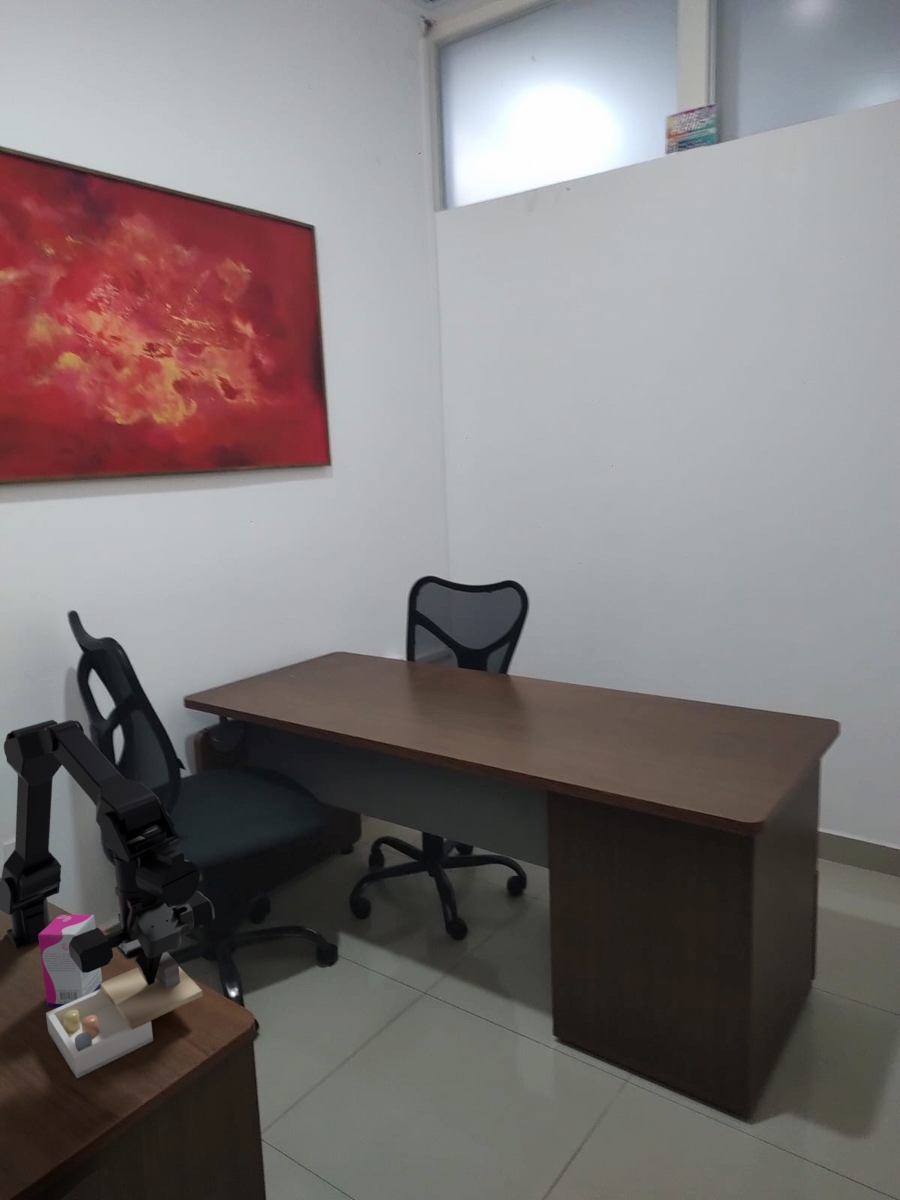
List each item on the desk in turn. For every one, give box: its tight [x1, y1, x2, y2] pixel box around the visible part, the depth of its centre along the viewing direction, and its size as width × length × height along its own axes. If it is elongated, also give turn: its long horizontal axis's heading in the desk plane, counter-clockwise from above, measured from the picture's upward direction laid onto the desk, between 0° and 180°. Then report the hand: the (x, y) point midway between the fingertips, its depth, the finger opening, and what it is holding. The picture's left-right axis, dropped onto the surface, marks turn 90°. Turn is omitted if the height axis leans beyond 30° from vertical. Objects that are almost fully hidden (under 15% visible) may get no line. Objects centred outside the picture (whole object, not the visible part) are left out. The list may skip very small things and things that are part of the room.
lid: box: [100, 951, 204, 1029], centre depth 119 cm, size 12×10×4 cm
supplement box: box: [38, 914, 103, 1008], centre depth 123 cm, size 6×6×12 cm
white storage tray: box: [45, 988, 154, 1079], centre depth 115 cm, size 12×10×3 cm
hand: (150, 983), depth 119 cm, fingers closed
